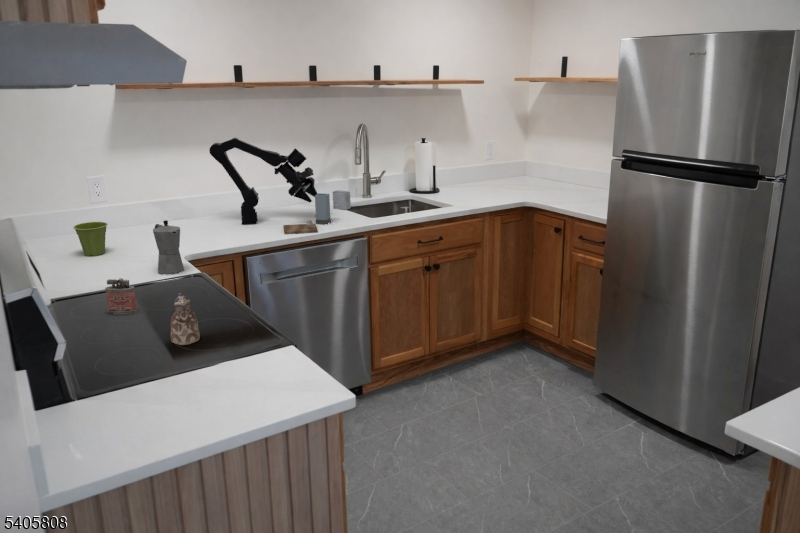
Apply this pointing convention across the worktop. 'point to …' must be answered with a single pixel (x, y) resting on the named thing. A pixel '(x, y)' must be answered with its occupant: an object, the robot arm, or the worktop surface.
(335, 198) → the medicine box
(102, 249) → the plant pot
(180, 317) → the figurine
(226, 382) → the worktop surface
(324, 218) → the sleeve
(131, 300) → the lighter
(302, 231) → the pin board
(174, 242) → the coffeepot
